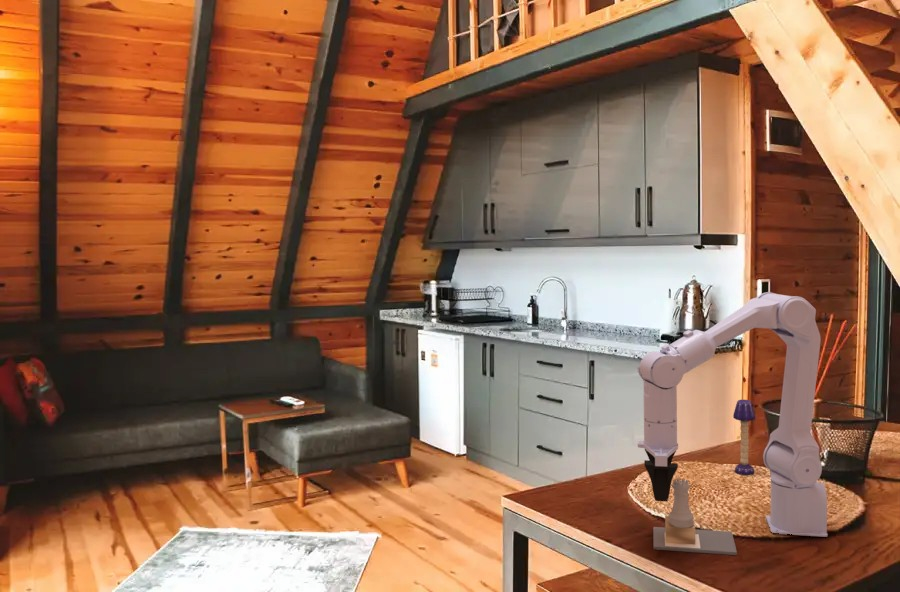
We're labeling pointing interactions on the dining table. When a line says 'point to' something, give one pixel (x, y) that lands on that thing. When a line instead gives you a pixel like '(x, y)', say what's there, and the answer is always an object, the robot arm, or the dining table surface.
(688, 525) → the rook chess piece
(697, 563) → the dining table surface
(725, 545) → the slate board
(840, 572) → the dining table surface
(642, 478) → the dining table surface
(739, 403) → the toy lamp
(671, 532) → the oak block
